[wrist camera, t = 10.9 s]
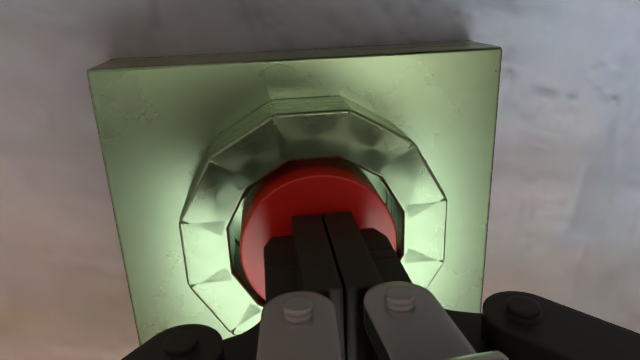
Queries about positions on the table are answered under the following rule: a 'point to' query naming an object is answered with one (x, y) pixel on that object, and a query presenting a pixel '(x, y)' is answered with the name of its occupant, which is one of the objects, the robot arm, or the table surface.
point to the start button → (306, 206)
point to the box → (293, 145)
